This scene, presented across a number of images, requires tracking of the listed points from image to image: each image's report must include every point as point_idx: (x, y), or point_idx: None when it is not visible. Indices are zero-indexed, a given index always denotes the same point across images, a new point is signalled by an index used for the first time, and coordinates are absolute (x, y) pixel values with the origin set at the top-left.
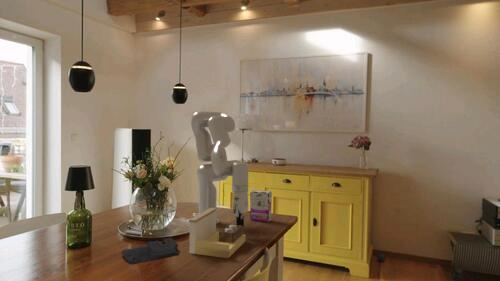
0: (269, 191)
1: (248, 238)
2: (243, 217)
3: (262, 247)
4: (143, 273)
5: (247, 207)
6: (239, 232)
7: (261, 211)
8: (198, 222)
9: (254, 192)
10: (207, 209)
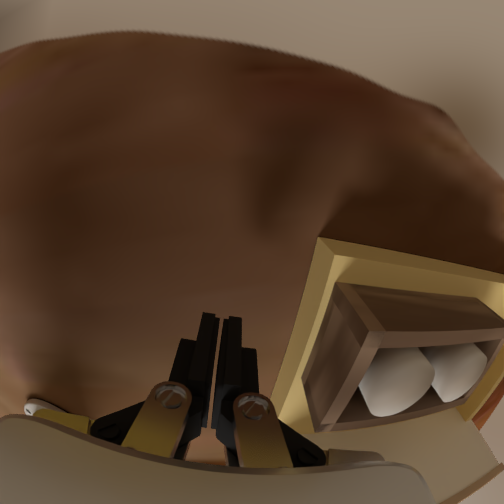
0: None
1: (239, 221)
2: (171, 393)
3: (419, 107)
4: (495, 402)
5: (52, 495)
6: (418, 309)
7: None
8: (481, 470)
9: None
10: None
